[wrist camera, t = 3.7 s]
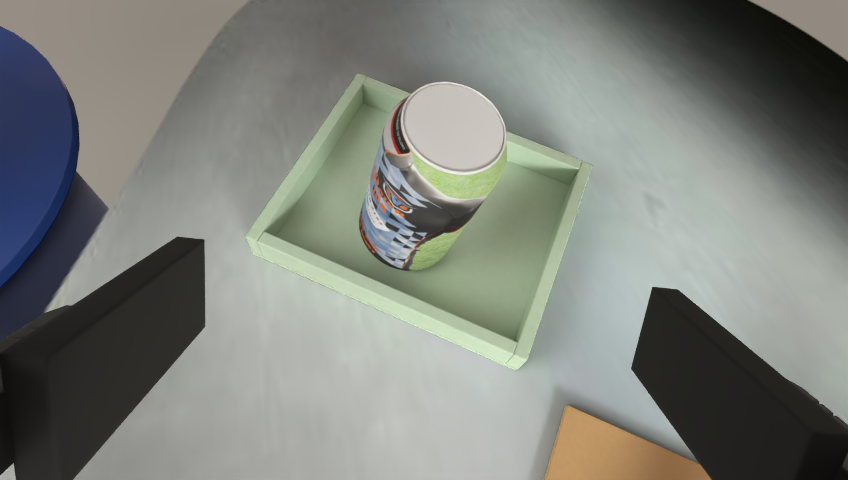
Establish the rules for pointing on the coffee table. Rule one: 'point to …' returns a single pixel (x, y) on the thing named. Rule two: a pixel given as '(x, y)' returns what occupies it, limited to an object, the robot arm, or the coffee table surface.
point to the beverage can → (431, 174)
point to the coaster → (612, 454)
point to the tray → (463, 263)
